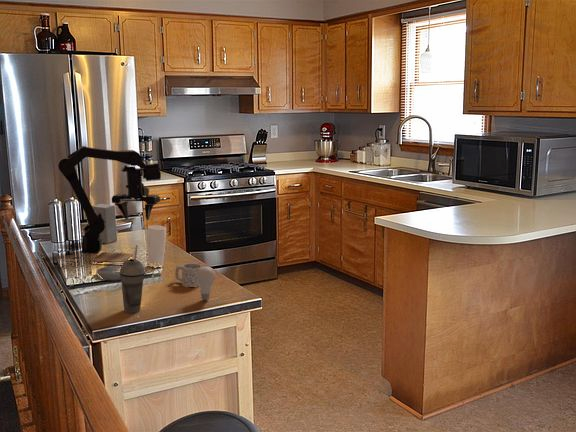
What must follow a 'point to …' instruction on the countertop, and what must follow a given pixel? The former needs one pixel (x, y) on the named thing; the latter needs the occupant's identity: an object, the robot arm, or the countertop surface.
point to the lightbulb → (205, 281)
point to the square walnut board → (112, 257)
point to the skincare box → (107, 222)
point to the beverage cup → (132, 284)
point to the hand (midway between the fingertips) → (137, 219)
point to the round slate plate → (109, 273)
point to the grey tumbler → (156, 243)
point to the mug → (188, 274)
